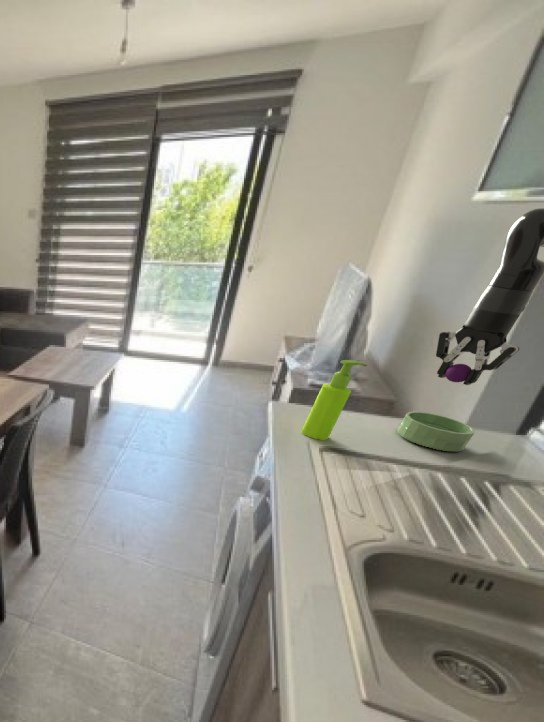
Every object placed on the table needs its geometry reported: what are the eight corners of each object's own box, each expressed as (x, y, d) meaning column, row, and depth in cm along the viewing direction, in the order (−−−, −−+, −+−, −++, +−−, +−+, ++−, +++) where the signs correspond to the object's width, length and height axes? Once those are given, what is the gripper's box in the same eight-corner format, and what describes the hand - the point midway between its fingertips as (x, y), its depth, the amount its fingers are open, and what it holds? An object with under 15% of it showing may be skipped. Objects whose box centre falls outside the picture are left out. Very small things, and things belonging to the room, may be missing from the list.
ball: (469, 384, 114) (480, 366, 112) (460, 385, 113) (470, 368, 111) (446, 377, 118) (456, 360, 116) (437, 379, 116) (447, 362, 114)
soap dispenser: (337, 440, 123) (375, 365, 113) (310, 439, 122) (346, 364, 113) (321, 430, 128) (356, 358, 118) (296, 429, 128) (329, 356, 118)
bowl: (472, 449, 122) (485, 430, 120) (445, 456, 118) (458, 437, 115) (412, 427, 133) (423, 409, 130) (385, 433, 128) (395, 414, 126)
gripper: (449, 302, 111) (410, 372, 119) (534, 317, 100) (484, 393, 108) (465, 301, 114) (426, 369, 122) (549, 315, 103) (500, 389, 111)
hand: (454, 380), depth 115 cm, fingers closed on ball, 4 cm apart
